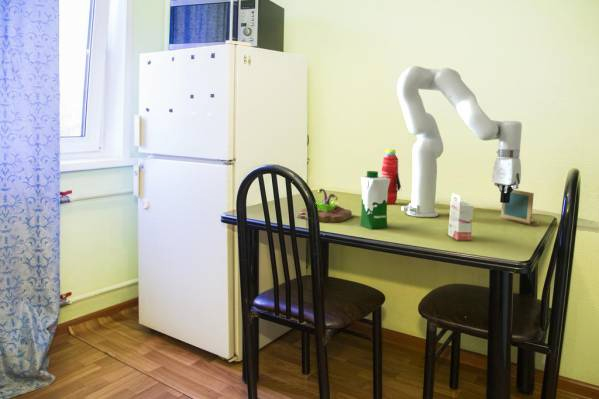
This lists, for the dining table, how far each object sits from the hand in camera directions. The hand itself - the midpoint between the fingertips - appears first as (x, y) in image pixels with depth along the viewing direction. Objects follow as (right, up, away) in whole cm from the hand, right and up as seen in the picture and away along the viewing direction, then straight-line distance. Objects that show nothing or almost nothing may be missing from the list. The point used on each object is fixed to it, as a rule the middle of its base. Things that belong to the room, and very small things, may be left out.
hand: (504, 202), depth 191 cm
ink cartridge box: (-24, -12, -22) cm, 35 cm away
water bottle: (-36, -1, +41) cm, 54 cm away
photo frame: (+5, -1, +3) cm, 6 cm away
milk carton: (-51, -9, -7) cm, 52 cm away
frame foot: (+8, -8, +5) cm, 12 cm away
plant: (-68, -6, +10) cm, 69 cm away
